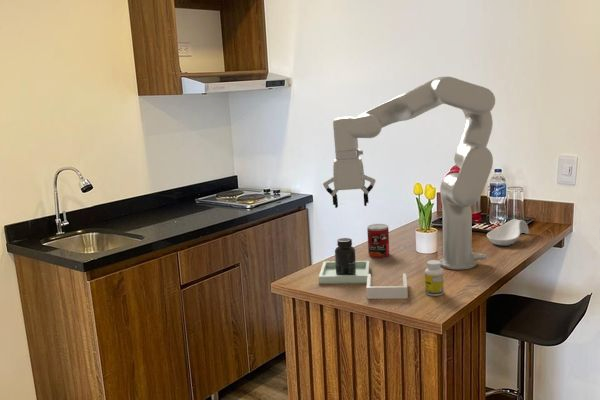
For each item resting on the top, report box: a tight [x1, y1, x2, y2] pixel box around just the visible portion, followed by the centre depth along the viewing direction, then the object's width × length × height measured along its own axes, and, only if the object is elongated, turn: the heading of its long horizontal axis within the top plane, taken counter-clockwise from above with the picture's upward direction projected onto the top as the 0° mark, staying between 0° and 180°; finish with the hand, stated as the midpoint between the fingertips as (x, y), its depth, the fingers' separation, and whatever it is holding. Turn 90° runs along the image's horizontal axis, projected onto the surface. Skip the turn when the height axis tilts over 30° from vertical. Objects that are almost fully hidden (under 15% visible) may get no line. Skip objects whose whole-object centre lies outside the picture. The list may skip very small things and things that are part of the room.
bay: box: [365, 272, 409, 300], centre depth 178 cm, size 12×12×4 cm
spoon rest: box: [486, 218, 530, 247], centre depth 223 cm, size 24×12×7 cm, turn 136°
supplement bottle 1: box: [334, 237, 357, 275], centre depth 194 cm, size 7×7×12 cm
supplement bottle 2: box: [424, 259, 445, 297], centre depth 173 cm, size 5×5×10 cm
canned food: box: [366, 223, 390, 259], centre depth 215 cm, size 8×8×11 cm
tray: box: [318, 260, 371, 285], centre depth 195 cm, size 16×16×2 cm
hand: (351, 206), depth 192 cm, fingers open, 9 cm apart
